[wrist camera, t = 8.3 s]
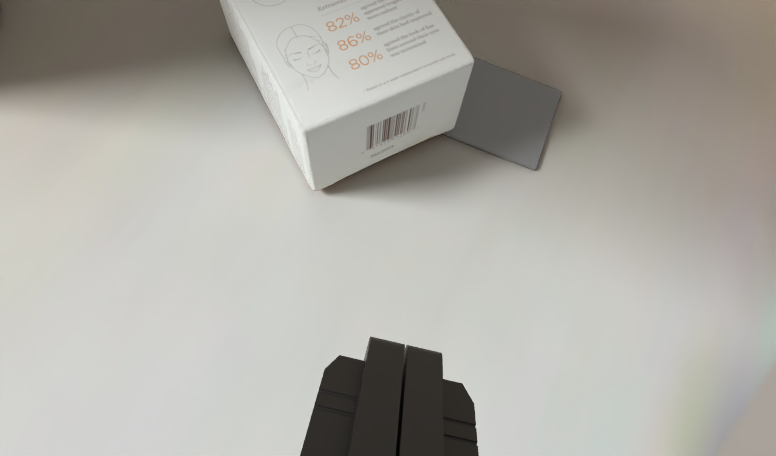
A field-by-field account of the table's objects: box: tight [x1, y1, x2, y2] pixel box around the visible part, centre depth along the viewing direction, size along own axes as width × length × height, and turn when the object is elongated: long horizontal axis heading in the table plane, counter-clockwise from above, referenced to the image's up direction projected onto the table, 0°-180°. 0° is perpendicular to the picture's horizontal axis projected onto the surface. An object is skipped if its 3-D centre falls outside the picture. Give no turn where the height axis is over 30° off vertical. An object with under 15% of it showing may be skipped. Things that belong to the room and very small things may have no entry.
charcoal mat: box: [441, 57, 562, 170], centre depth 30 cm, size 11×5×1 cm, turn 68°
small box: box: [219, 0, 474, 191], centre depth 27 cm, size 8×6×10 cm
